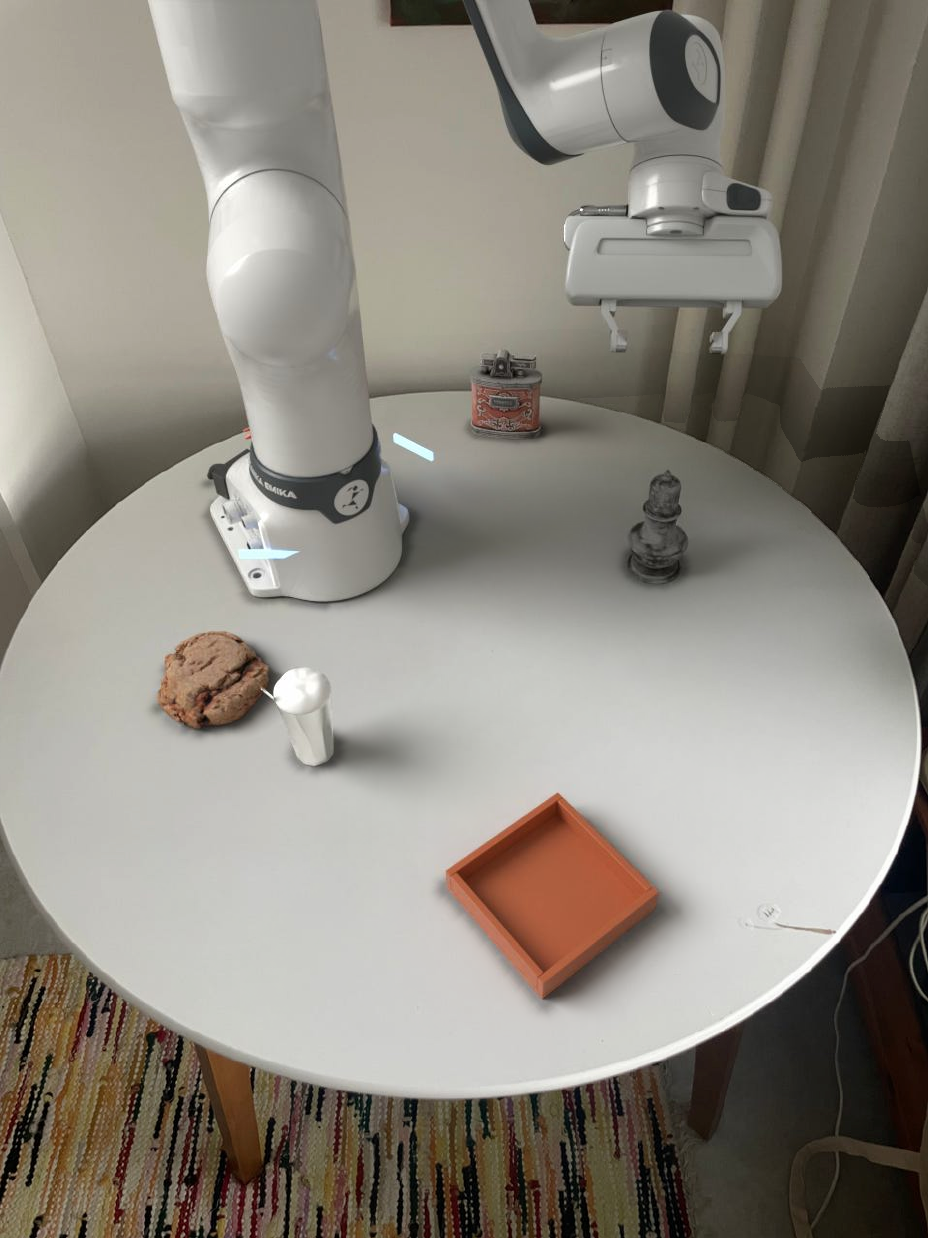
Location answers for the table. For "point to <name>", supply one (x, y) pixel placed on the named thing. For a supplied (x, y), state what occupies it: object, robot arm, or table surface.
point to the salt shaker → (658, 534)
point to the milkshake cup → (306, 713)
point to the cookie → (211, 680)
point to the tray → (551, 893)
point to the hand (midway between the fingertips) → (668, 352)
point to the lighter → (506, 396)
